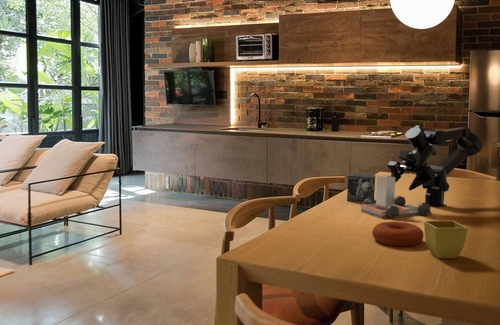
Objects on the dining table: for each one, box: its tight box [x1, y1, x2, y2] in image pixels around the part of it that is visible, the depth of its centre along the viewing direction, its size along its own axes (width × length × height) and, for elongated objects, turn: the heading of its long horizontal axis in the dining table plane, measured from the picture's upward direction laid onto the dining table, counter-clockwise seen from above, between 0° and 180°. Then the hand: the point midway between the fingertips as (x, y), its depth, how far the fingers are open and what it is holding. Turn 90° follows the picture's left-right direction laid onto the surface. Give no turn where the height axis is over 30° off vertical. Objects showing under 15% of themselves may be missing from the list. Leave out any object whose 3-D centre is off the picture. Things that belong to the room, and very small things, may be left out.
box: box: [346, 173, 376, 203], centre depth 230 cm, size 11×7×10 cm, turn 75°
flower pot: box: [423, 220, 468, 259], centre depth 155 cm, size 9×9×9 cm
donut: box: [371, 221, 425, 248], centre depth 170 cm, size 15×15×5 cm
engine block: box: [375, 175, 396, 211], centre depth 206 cm, size 4×4×12 cm
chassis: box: [360, 195, 432, 220], centre depth 209 cm, size 22×15×4 cm
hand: (399, 187), depth 210 cm, fingers open, 9 cm apart
